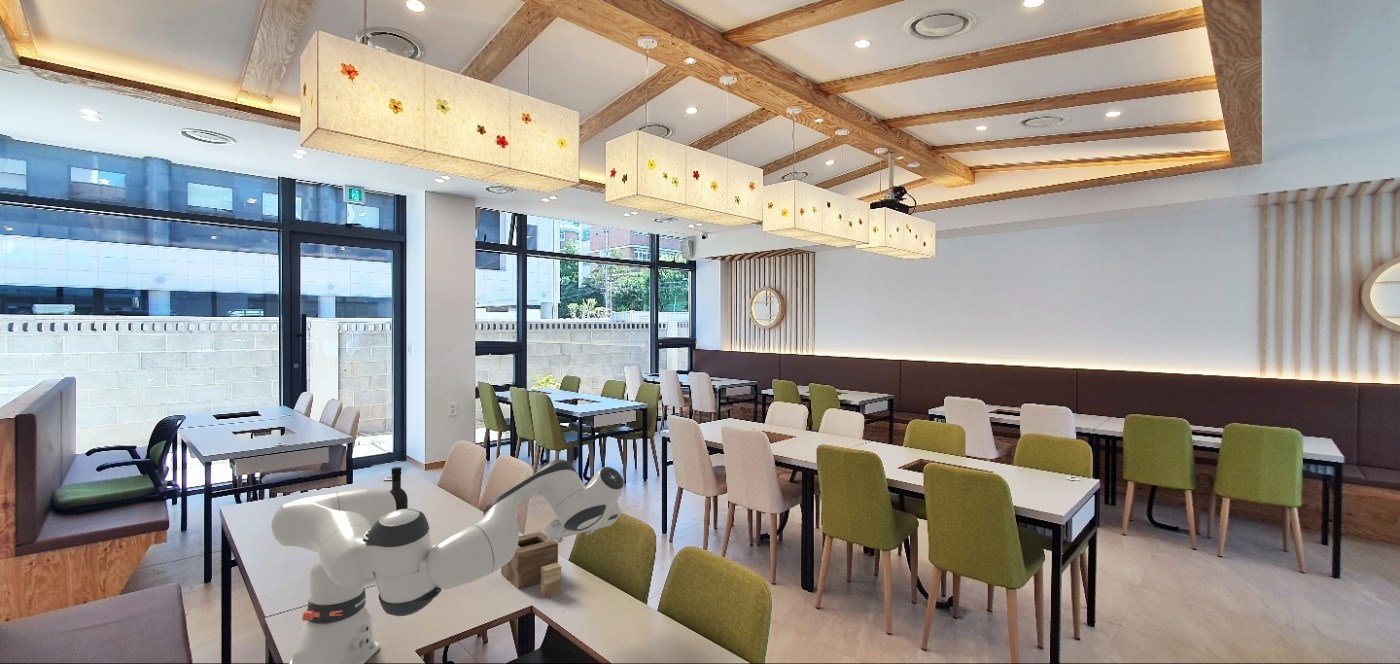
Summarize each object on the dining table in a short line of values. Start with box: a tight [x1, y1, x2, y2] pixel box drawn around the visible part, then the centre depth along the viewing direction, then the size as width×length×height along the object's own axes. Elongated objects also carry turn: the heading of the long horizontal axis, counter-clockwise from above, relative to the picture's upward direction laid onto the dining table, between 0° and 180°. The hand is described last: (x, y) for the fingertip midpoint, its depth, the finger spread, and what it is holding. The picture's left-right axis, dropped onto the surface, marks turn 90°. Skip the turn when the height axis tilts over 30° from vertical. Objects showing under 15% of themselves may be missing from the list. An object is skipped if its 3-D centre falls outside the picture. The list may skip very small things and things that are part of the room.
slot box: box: [500, 531, 559, 590], centre depth 190 cm, size 13×13×11 cm
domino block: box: [540, 562, 562, 598], centre depth 179 cm, size 3×5×8 cm, turn 130°
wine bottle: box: [388, 466, 409, 510], centre depth 206 cm, size 6×6×30 cm
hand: (572, 536), depth 169 cm, fingers open, 8 cm apart
